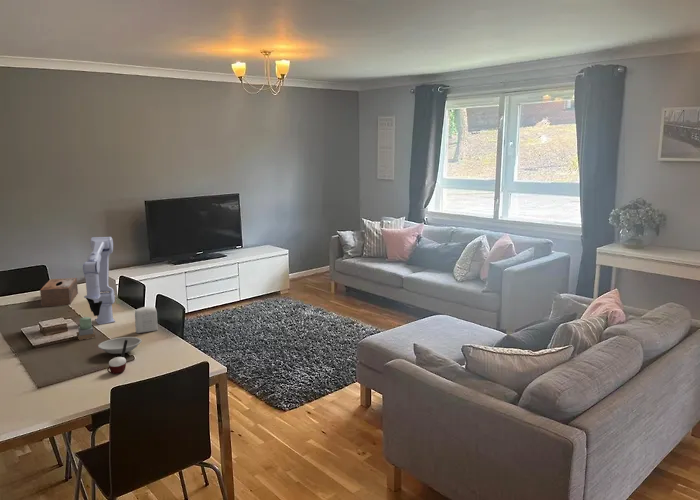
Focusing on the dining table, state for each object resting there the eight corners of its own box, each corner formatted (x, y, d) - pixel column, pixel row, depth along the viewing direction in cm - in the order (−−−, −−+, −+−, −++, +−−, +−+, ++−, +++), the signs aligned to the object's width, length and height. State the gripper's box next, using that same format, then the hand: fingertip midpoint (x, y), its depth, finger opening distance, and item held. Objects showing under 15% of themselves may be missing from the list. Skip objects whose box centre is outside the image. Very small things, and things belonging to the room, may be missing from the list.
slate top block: (78, 332, 255) (78, 327, 254) (92, 330, 258) (92, 325, 257) (79, 335, 250) (79, 330, 249) (93, 333, 253) (93, 328, 252)
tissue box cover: (70, 305, 306) (68, 288, 304) (41, 307, 302) (40, 289, 300) (78, 293, 330) (76, 277, 328) (51, 295, 326) (50, 279, 324)
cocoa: (108, 378, 210) (105, 349, 207) (105, 372, 215) (101, 344, 212) (133, 371, 216) (130, 343, 213) (129, 365, 221) (126, 338, 218)
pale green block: (78, 327, 253) (78, 318, 253) (90, 325, 257) (89, 316, 256) (81, 330, 250) (80, 321, 249) (92, 328, 253) (92, 319, 252)
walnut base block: (76, 337, 255) (76, 332, 255) (92, 334, 259) (92, 329, 258) (79, 341, 249) (78, 336, 249) (95, 338, 253) (94, 333, 253)
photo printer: (156, 328, 268) (155, 304, 265) (158, 330, 264) (157, 306, 262) (134, 331, 262) (133, 307, 260) (136, 334, 258) (135, 309, 256)
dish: (99, 363, 224) (99, 351, 223) (97, 351, 236) (97, 340, 235) (144, 355, 232) (143, 344, 231) (140, 345, 244) (139, 334, 243)
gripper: (81, 284, 258) (83, 310, 261) (85, 290, 247) (88, 318, 249) (97, 282, 262) (99, 308, 265) (102, 288, 250) (104, 316, 253)
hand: (95, 313), depth 257 cm, fingers open, 7 cm apart
